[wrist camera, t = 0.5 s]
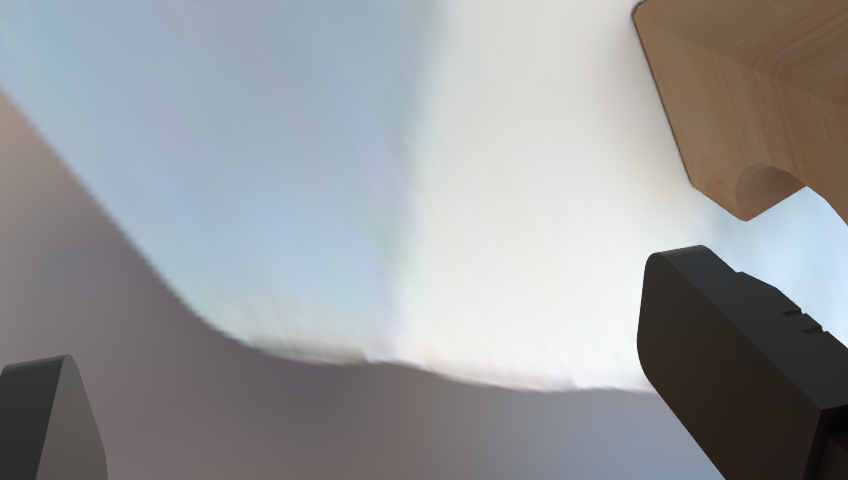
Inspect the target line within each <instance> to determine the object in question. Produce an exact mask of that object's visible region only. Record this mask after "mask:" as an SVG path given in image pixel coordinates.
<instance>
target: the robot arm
mask: <svg viewBox="0 0 848 480" xmlns="http://www.w3.org/2000/svg"><path fill="white" fill-rule="evenodd" d="M637 351H638V356H639V360H640V364H641V366H642V369H643V371H644V374H645V375H646V377H647V379H648V380H649V382H650V383H651V384H652V386H653V387H654V388H655V389H656V391H657V392H658V393H659V395H660V396H661V397H662V398H663V400H664V401H665V402H666V404H667V405H668V406H669V407H670V409H671V410H672V411H673V412H674V414H675V415H676V416H677V418H678V419H679V420H680V421H681V423H682V424H683V425H684V427H685V428H686V429H687V430H688V432H689V433H690V434H691V436H692V437H693V438H694V440H695V441H696V442H697V443H698V445H699V446H700V447H701V448H702V450H703V451H704V452H705V454H706V455H707V456H708V458H709V459H710V460H711V461H712V463H713V464H714V465H715V467H716V468H717V469H718V470H719V472H720V473H721V474H722V476H723V477H724V478H725V479H726V480H848V348H847V347H846V346H845V345H843V344H842V343H841V342H840V341H839V340H837V339H836V338H835V337H834V336H833V335H832V334H830V333H829V332H828V331H825V332H823V330H822V326H821V325H820V324H819V323H817V322H816V321H815V320H814V319H813V318H811V317H810V316H809V315H808V314H807V313H805V314H802V312H801V308H800V307H798V306H797V305H796V304H795V303H794V302H793V301H791V300H790V299H789V298H788V297H787V296H785V295H784V294H783V293H782V292H781V291H780V290H778V289H777V288H776V287H774V286H772V285H769V284H767V283H765V282H763V281H761V280H759V279H757V278H754V277H752V276H750V275H748V274H746V273H744V272H737V273H736V272H735V271H734V270H733V269H732V268H731V267H729V266H728V265H727V264H726V263H725V262H724V261H723V260H722V259H720V258H719V257H718V256H717V255H716V254H715V253H714V252H712V251H711V250H710V249H709V248H707V247H706V246H703V245H697V246H691V247H686V248H680V249H674V250H669V251H663V252H657V253H653V254H651V255H650V256H649V258H648V260H647V262H646V265H645V271H644V280H643V289H642V297H641V306H640V315H639V324H638V332H637ZM107 479H108V476H107V464H106V457H105V451H104V447H103V443H102V440H101V437H100V434H99V431H98V427H97V425H96V421H95V418H94V415H93V412H92V409H91V406H90V403H89V400H88V397H87V394H86V391H85V388H84V385H83V382H82V379H81V376H80V373H79V370H78V367H77V364H76V362H75V360H74V359H73V357H72V356H71V355H69V354H67V355H61V356H56V357H51V358H44V359H38V360H33V361H27V362H21V363H16V364H10V365H6V366H5V367H4V369H3V370H2V373H1V376H0V480H107Z"/></svg>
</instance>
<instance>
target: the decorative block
mask: <svg viewBox="0 0 848 480" xmlns="http://www.w3.org/2000/svg"><path fill="white" fill-rule="evenodd" d="M634 20H635V23H636V26H637V29H638V32H639V35H640V37H641V40H642V43H643V46H644V49H645V52H646V55H647V57H648V60H649V63H650V66H651V69H652V72H653V75H654V78H655V80H656V83H657V86H658V89H659V92H660V95H661V98H662V100H663V103H664V106H665V109H666V112H667V115H668V118H669V120H670V123H671V126H672V129H673V132H674V135H675V137H676V140H677V143H678V146H679V149H680V151H681V154H682V157H683V160H684V163H685V166H686V168H687V171H688V174H689V177H690V180H691V183H692V185H693V187H695V188H696V189H697V190H699V191H700V192H702V193H703V194H704V195H706V196H707V197H709V198H710V199H711V200H713V201H714V202H716V203H717V204H718V205H720V206H721V207H723V208H724V209H725V210H727V211H728V212H730V213H731V214H732V215H734V216H735V217H737V218H738V219H739V220H743V221H749V220H751V219H753V218H754V217H756V216H758V215H759V214H761V213H762V212H764V211H766V210H767V209H769V208H771V207H772V206H774V205H776V204H777V203H779V202H781V201H782V200H784V199H786V198H787V197H789V196H791V195H792V194H794V193H796V192H797V191H799V190H801V189H802V188H804V187H806V186H808V187H809V188H811V189H812V190H813V191H815V192H816V193H817V194H819V195H820V196H821V197H823V198H824V199H825V200H826V201H827V202H828V203H829V204H830V205H831V207H832V208H833V209H834V210H835V211H836V212H837V214H838V215H839V216H840V217H841V218H842V219H843V221H844V222H845V223H846V224H847V225H848V0H647V1H645V2H644V3H642V4H640V5H639V6H638V7H637V9H636V12H635V14H634Z"/></svg>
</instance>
